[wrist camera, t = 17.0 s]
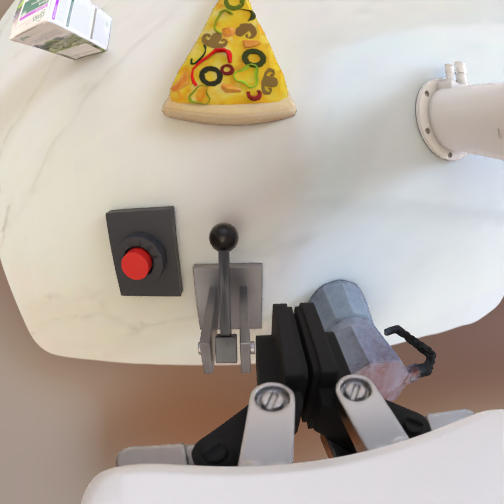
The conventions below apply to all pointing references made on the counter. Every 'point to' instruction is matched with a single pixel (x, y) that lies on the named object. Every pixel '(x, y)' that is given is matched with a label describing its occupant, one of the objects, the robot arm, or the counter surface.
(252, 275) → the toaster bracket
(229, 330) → the lever
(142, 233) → the control block
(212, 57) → the pizza slice
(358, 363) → the moka pot
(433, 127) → the robot arm
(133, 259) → the button
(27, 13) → the syrup box
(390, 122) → the counter surface
